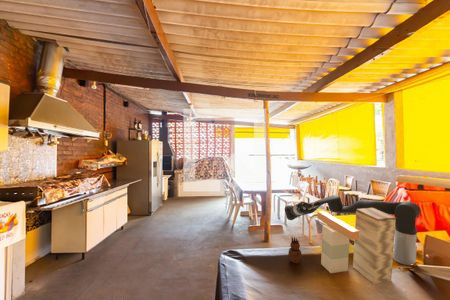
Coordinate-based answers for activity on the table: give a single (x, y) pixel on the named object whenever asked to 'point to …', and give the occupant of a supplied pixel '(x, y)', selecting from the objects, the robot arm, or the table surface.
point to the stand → (374, 244)
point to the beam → (338, 225)
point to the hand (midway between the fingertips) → (313, 203)
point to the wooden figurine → (294, 251)
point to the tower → (334, 250)
